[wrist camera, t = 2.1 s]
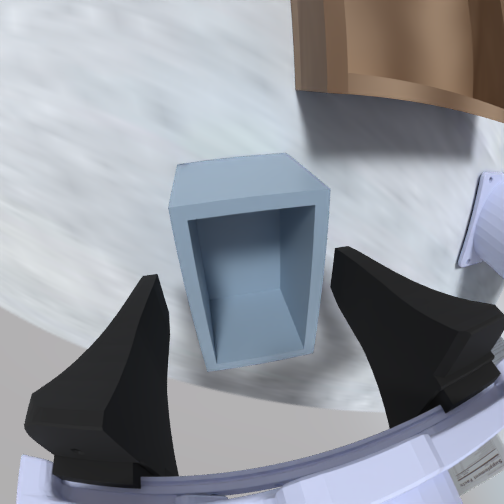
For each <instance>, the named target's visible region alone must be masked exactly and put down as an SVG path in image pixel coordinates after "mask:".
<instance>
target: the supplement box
mask: <svg viewBox="0 0 504 504" xmlns="http://www.w3.org/2000/svg"><path fill="white" fill-rule="evenodd" d="M491 352H492V353H493V354H494V356H495V358H494V359H493V360H492V362H493V363H494V364H495V366H496V364H497V363H498V362H499V361H501V360H502V359H503V358H504V340H503V338H502V337H501V336H500V338H499V339H498V341H497V342H496V344H495V345H494V347H493V348H492V350H491ZM503 470H504V428H503V429H502V430H501V431H500V432H499V433H498V434H496V435H495V436H494V437H493V438H491V439H490V440H489V441H488V442H486V443H485V444H484V445H483V446H481V447H480V448H479V449H477V450H476V451H475V452H473V453H472V454H470V455H469V456H468V457H466V458H465V459H463V460H462V461H460V462H459V463H457V464H456V465H454V466H453V467H451V468H450V469H448V472H449V474H450V476H451V478H452V480H453V482H454V485H455V487H456V489H457V491H458V493H459V495H462V494H464V493H466V492H467V491H469V490H471V489H473V488H475V487H476V486H479V485H480V484H482V483H484V482H486V481H487V480H489V479H490V478H492V477H494V476H495V475H497V474H498V473H500V472H501V471H503Z"/></svg>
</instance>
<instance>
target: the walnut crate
mask: <svg viewBox="0 0 504 504" xmlns="http://www.w3.org/2000/svg"><path fill="white" fill-rule="evenodd" d="M291 10H292V25H293V42H294V62H295V87H296V90H302V91H314V92H324V93H339V94H354V95H365V96H375V97H384V98H392V99H399V100H406V101H413V102H419V103H424V104H430V105H435V106H440V107H445V108H449V109H454V110H458V111H462V112H466V113H470V114H474V115H478V116H482V117H485V118H489V119H492V120H495V121H499V122H502V123H504V0H291Z"/></svg>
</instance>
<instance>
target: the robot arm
mask: <svg viewBox="0 0 504 504" xmlns="http://www.w3.org/2000/svg"><path fill="white" fill-rule="evenodd" d="M483 261H485V262H486V263H487V264H488V265H489V266H490V267H491V268H493V269H494V270H495V271H496V272H497V273H498V274H499V275H500V276H501V277H502V278H503V279H504V173H498V172H483V173H482V175H481V177H480V182H479V187H478V192H477V196H476V201H475V205H474V209H473V213H472V217H471V221H470V224H469V228H468V232H467V235H466V238H465V242H464V245H463V248H462V251H461V254H460V257H459V260H458V265H459V266H460V267H466V266H469V265H473V264H476V263H479V262H483ZM330 287H331V290H332V292H333V295H334V297H335V300H336V302H337V304H338V306H339V308H340V310H341V312H342V313H343V315H344V317H345V319H346V320H347V322H348V324H349V325H350V327H351V329H352V331H353V332H354V334H355V336H356V337H357V339H358V341H359V343H360V344H361V346H362V348H363V350H364V352H365V354H366V357H367V359H368V361H369V364H370V366H371V369H372V371H373V374H374V377H375V379H376V382H377V385H378V388H379V391H380V394H381V397H382V400H383V404H384V407H385V411H386V415H387V419H388V423H389V427H390V429H388V430H386V431H383V432H381V433H379V434H376V435H373V436H371V437H368V438H366V439H363V440H360V441H357V442H354V443H351V444H349V445H346V446H343V447H340V448H336V449H333V450H330V451H327V452H323V453H320V454H316V455H312V456H309V457H305V458H301V459H297V460H293V461H289V462H284V463H279V464H275V465H270V466H265V467H259V468H254V469H247V470H241V471H233V472H226V473H217V474H207V475H194V476H179V475H178V470H177V465H176V460H175V455H174V449H173V442H172V436H171V428H170V420H169V410H168V398H167V371H168V356H169V341H170V323H169V311H168V308H167V305H166V301H165V298H164V295H163V291H162V288H161V285H160V281H159V278H158V274H154V275H147V276H143V277H142V278H141V279H140V281H139V282H138V284H137V285H136V287H135V288H134V290H133V291H132V293H131V294H130V296H129V297H128V299H127V300H126V302H125V303H124V305H123V306H122V308H121V309H120V311H119V312H118V314H117V315H116V316H115V318H114V319H113V320H112V322H111V323H110V324H109V326H108V327H107V328H106V329H105V331H104V332H103V333H102V334H101V335H100V337H99V338H98V339H97V340H96V341H95V342H94V343H93V344H92V345H91V346H90V348H89V349H87V350H86V351H85V352H84V353H83V354H82V355H81V356H80V357H79V358H78V359H77V360H76V361H75V362H74V363H73V364H72V365H71V366H70V367H68V368H67V369H66V370H65V371H63V372H62V373H61V374H60V375H58V376H57V377H56V378H54V379H53V380H52V381H51V382H49V383H47V384H46V385H45V386H43V387H41V388H40V389H39V390H37V391H36V392H34V393H33V394H32V396H31V399H30V403H29V407H28V411H27V415H26V419H25V424H24V427H25V430H26V432H27V433H28V435H29V436H30V437H31V438H32V439H33V440H35V441H36V442H37V443H38V444H40V445H41V446H43V447H44V448H45V449H47V450H48V451H49V452H51V453H52V454H54V463H53V462H51V461H49V460H46V459H42V458H37V457H33V456H29V455H24V454H23V455H22V456H21V463H20V470H19V478H18V488H17V502H16V504H463V502H462V500H461V498H460V495H459V493H458V491H457V489H456V487H455V485H454V482H453V480H452V478H451V476H450V474H449V472H448V469H450V468H451V467H453V466H454V465H456V464H457V463H459V462H460V461H462V460H463V459H465V458H466V457H468V456H469V455H470V454H472V453H473V452H475V451H476V450H477V449H479V448H480V447H481V446H483V445H484V444H485V443H486V442H488V441H489V440H490V439H491V438H493V437H494V436H495V435H496V434H498V433H499V432H500V431H501V430H502V429H503V428H504V358H503V359H502V360H501V361H499V362H498V363H497V364H496V366H495V364H494V363H493V362H492V360H493V359H494V358H495V356H494V354H493V353H492V352H491V350H492V348H493V347H494V345H495V344H496V342H497V341H498V339H499V338H500V336H501V334H502V332H503V331H504V314H503V313H502V312H501V311H500V310H499V309H498V308H497V307H496V306H495V305H493V304H487V303H481V302H475V301H470V300H466V299H462V298H458V297H454V296H451V295H448V294H445V293H442V292H439V291H436V290H433V289H430V288H428V287H426V286H423V285H421V284H419V283H416V282H414V281H412V280H410V279H408V278H406V277H404V276H402V275H400V274H398V273H396V272H394V271H392V270H390V269H389V268H387V267H385V266H383V265H382V264H380V263H378V262H376V261H375V260H373V259H371V258H369V257H368V256H366V255H364V254H362V253H361V252H359V251H357V250H355V249H353V248H351V247H349V246H346V247H339V248H335V253H334V262H333V270H332V278H331V286H330ZM281 486H282V487H281ZM276 487H280V488H277V489H273V490H269V491H265V492H261V493H257V494H252V495H247V496H242V497H237V498H232V499H228V498H227V497H226V495H233V494H241V493H249V492H255V491H261V490H266V489H272V488H276Z"/></svg>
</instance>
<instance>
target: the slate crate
mask: <svg viewBox="0 0 504 504" xmlns="http://www.w3.org/2000/svg"><path fill="white" fill-rule="evenodd" d="M329 205H330V188H329V187H327V186H326V185H325V184H324V183H323V182H322V181H320V180H319V179H318V178H317V177H316V176H314V175H313V174H312V173H311V172H310V171H308V170H307V169H306V168H305V167H303V166H302V165H301V164H300V163H299V162H297V161H296V160H295V159H294V158H292V157H291V156H290V155H288V154H287V153H279V154H265V155H254V156H243V157H233V158H224V159H216V160H208V161H200V162H193V163H185V164H179V165H177V169H176V173H175V178H174V182H173V187H172V192H171V197H170V202H169V207H168V209H169V214H170V220H171V225H172V230H173V235H174V240H175V244H176V249H177V254H178V259H179V263H180V268H181V272H182V276H183V281H184V285H185V289H186V293H187V297H188V302H189V306H190V310H191V313H192V317H193V321H194V325H195V329H196V333H197V336H198V340H199V344H200V347H201V351H202V354H203V358H204V361H205V365H206V368H207V372H209V371H217V370H224V369H231V368H237V367H244V366H250V365H256V364H261V363H267V362H272V361H278V360H283V359H288V358H293V357H297V356H302V355H307V354H311V353H313V351H314V345H315V338H316V331H317V324H318V317H319V309H320V301H321V293H322V284H323V275H324V265H325V255H326V244H327V233H328V220H329Z"/></svg>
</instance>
